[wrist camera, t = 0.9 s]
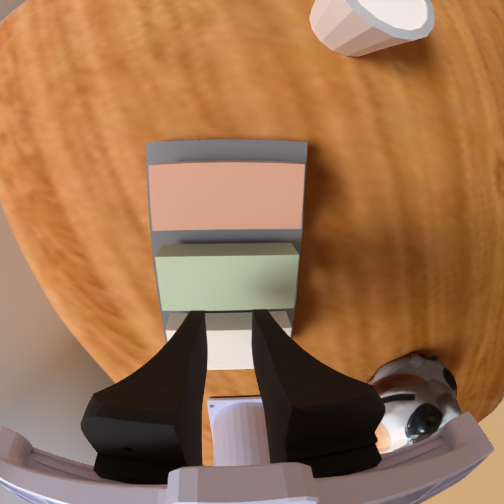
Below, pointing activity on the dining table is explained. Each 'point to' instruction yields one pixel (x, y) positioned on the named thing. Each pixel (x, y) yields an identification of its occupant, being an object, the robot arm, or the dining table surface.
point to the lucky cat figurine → (414, 400)
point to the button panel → (225, 151)
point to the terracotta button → (226, 195)
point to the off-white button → (228, 337)
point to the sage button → (227, 276)
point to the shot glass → (370, 23)
